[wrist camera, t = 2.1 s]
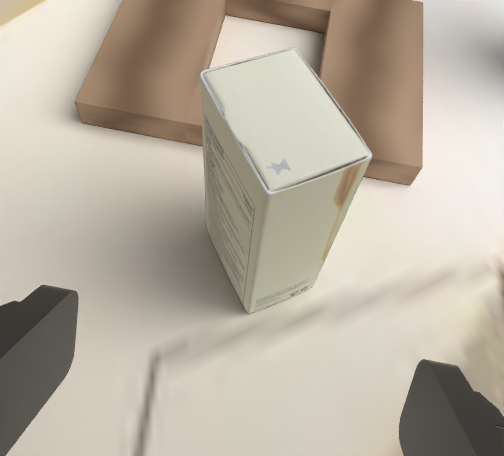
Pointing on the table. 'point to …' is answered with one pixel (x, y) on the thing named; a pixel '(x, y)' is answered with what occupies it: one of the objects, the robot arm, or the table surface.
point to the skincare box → (275, 173)
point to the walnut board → (277, 12)
